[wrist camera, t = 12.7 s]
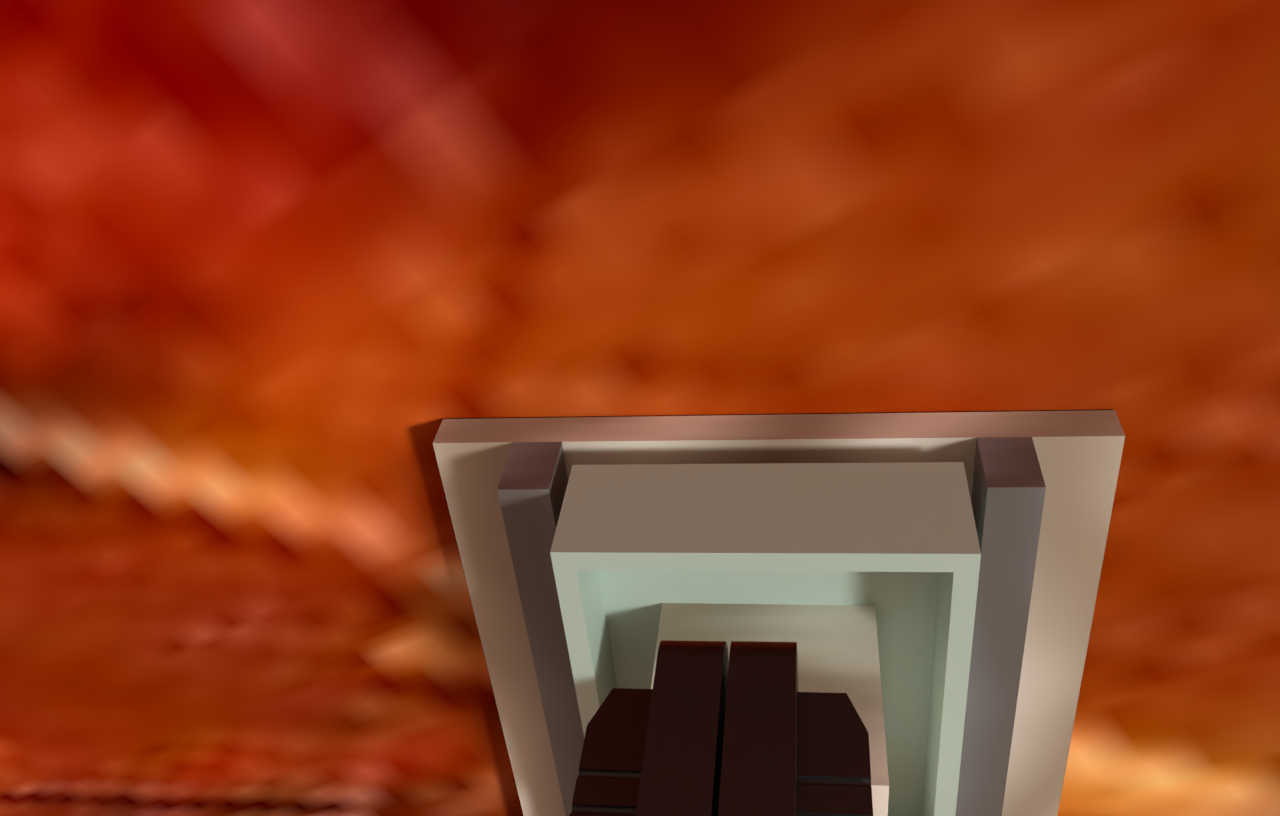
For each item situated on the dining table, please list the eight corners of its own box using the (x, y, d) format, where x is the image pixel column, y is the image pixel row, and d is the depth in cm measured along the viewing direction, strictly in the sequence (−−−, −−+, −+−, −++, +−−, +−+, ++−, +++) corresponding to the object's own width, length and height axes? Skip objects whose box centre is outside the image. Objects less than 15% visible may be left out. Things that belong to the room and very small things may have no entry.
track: (563, 935, 42) (550, 1012, 40) (442, 419, 29) (412, 489, 27) (1021, 958, 40) (1035, 1042, 37) (1114, 410, 27) (1145, 487, 24)
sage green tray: (627, 771, 34) (611, 885, 31) (577, 446, 27) (550, 552, 24) (933, 781, 33) (947, 900, 30) (959, 443, 26) (981, 554, 23)
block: (677, 739, 30) (658, 916, 26) (662, 602, 28) (639, 777, 24) (870, 745, 30) (881, 928, 26) (875, 605, 27) (889, 785, 23)
